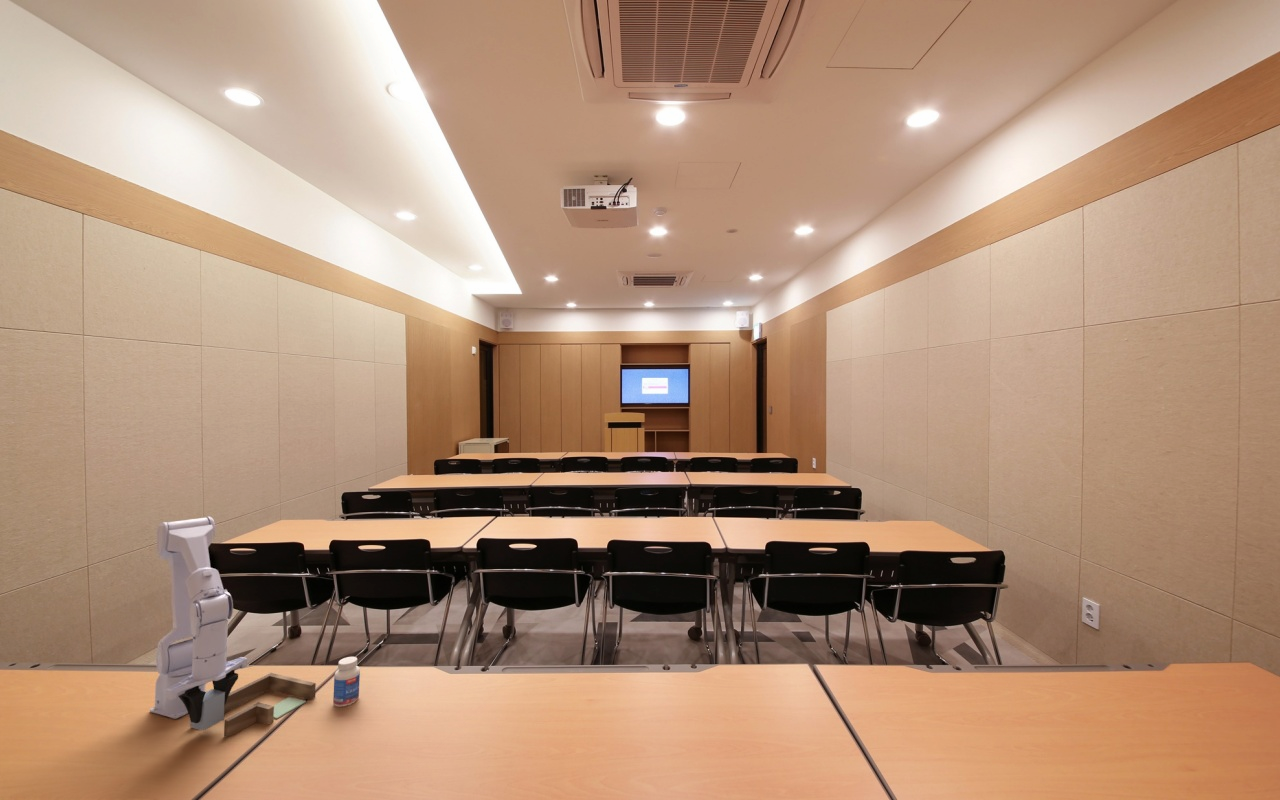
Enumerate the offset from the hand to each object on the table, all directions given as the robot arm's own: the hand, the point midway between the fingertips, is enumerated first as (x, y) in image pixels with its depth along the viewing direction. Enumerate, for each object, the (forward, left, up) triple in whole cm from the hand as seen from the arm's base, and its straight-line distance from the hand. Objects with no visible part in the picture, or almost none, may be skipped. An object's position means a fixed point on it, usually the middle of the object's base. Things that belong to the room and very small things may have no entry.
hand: (207, 715), depth 107 cm
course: (+2, +9, -4) cm, 10 cm away
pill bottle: (+18, +19, -4) cm, 26 cm away
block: (0, 0, -2) cm, 2 cm away
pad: (+7, +12, -4) cm, 14 cm away
